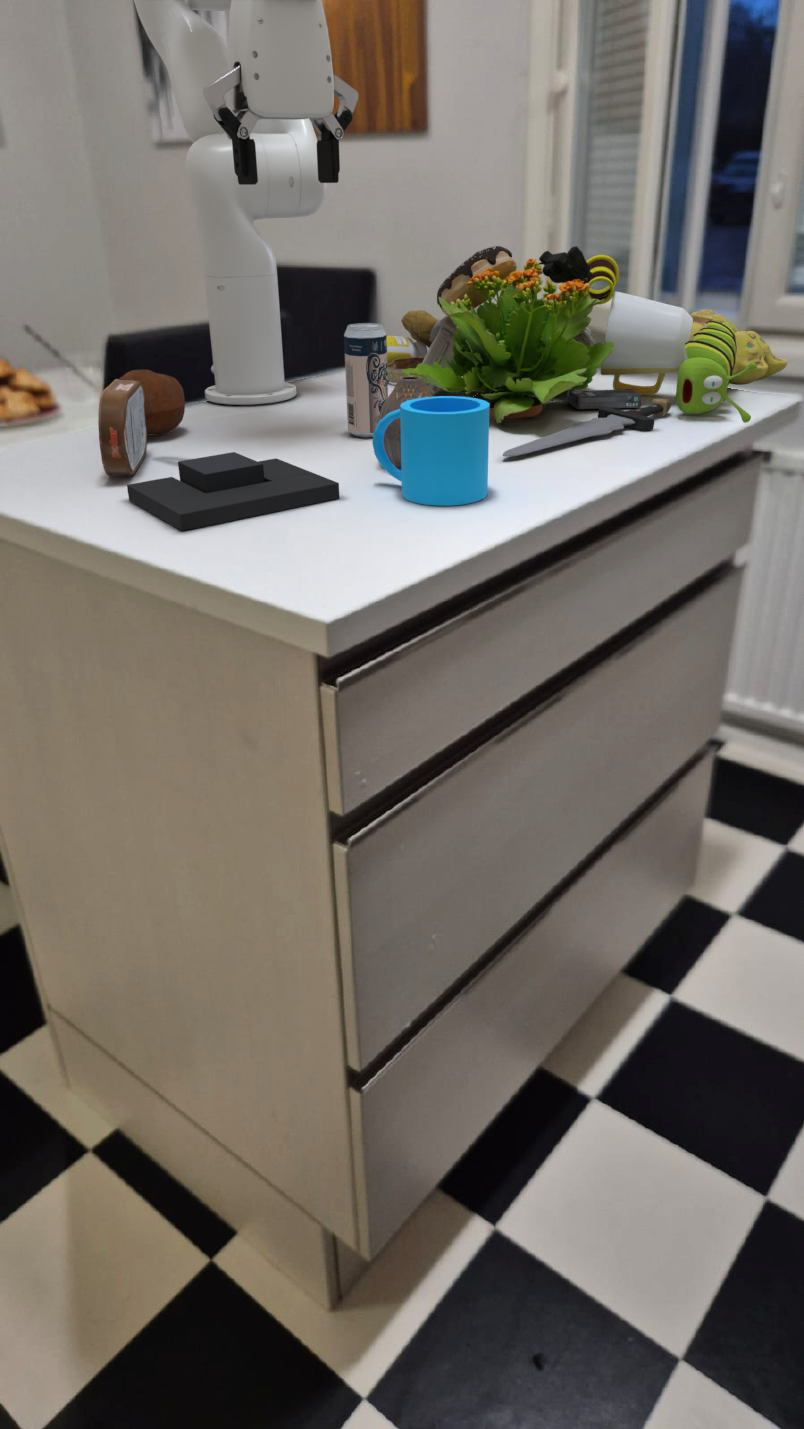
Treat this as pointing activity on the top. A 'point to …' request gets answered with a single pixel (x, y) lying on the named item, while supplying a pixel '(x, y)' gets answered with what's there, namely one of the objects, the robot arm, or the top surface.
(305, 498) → the base pad
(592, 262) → the opera glasses
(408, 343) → the supplement bottle
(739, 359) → the figurine
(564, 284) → the potted flower
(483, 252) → the donut
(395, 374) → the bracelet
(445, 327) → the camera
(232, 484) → the small pad
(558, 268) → the toy gun
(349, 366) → the beer can
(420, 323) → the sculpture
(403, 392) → the vase
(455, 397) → the mug
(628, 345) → the mug
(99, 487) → the top surface
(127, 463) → the tin
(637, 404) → the mini dv tape
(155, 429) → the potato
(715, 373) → the toy
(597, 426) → the dagger
